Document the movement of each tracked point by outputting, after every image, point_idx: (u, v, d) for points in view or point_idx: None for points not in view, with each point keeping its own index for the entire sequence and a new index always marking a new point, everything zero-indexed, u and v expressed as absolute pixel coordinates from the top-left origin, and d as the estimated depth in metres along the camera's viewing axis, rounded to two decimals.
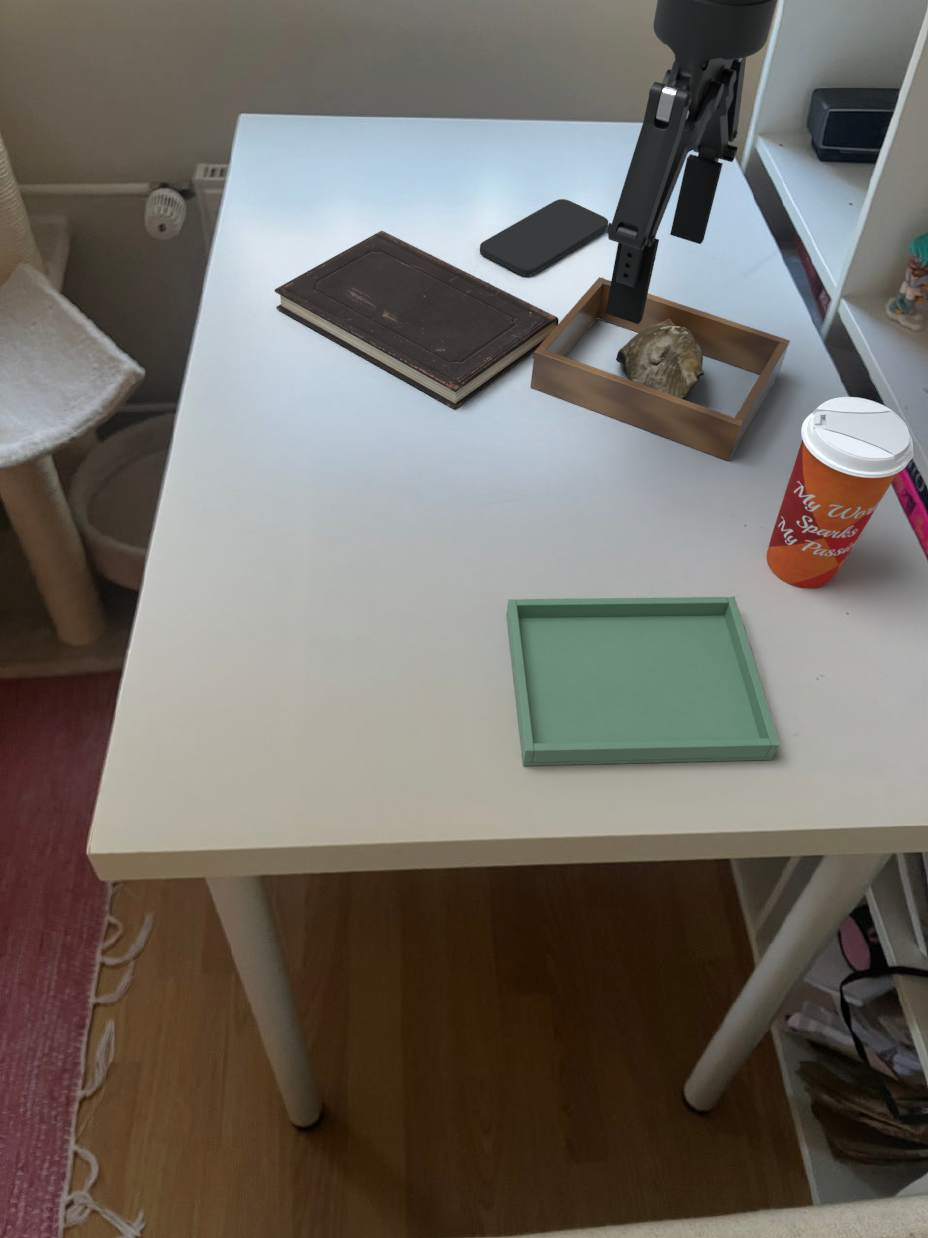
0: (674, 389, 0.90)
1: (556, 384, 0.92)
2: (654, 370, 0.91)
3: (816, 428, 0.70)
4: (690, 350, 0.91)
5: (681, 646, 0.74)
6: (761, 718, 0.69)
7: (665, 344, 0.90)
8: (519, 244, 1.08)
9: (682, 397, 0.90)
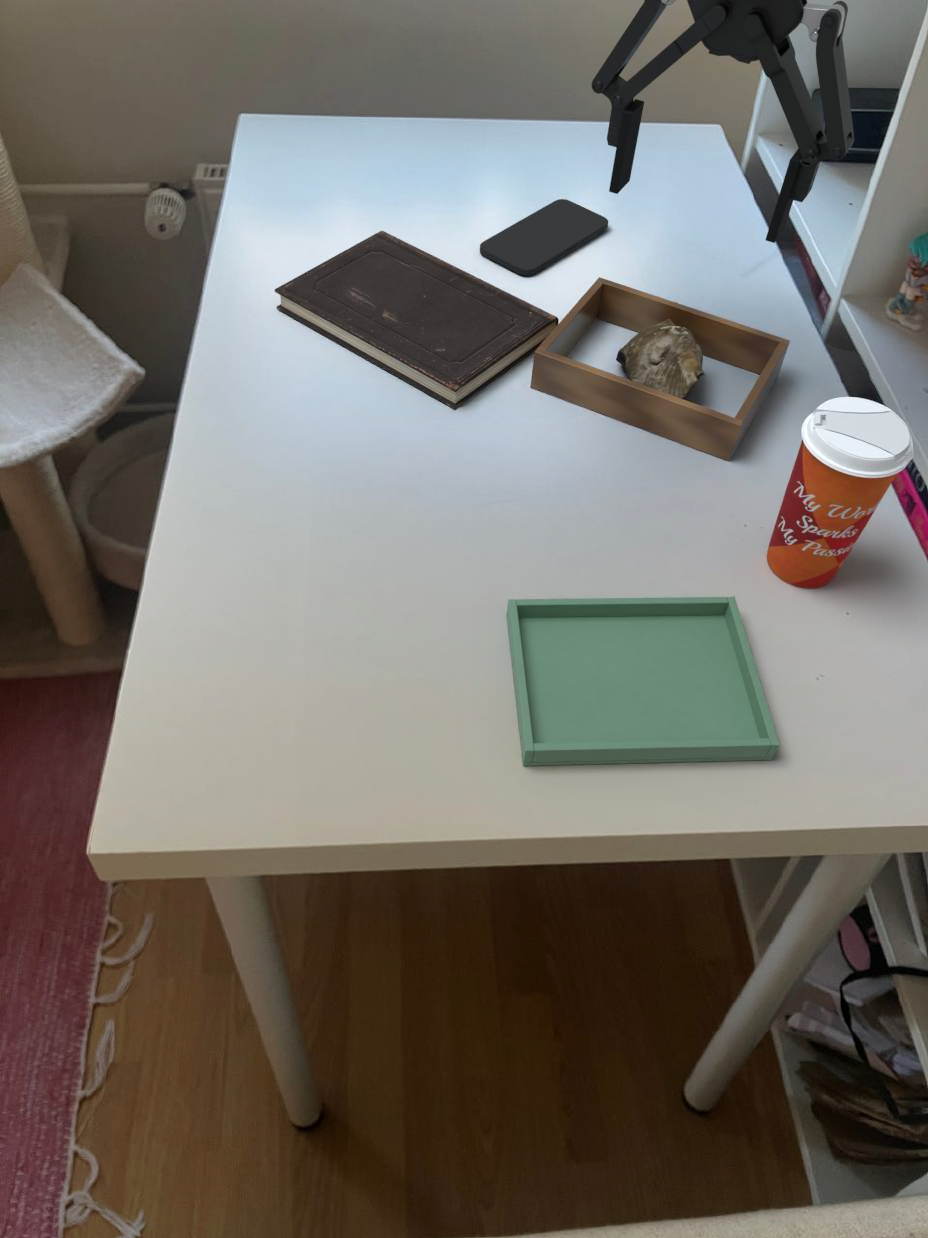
0: (674, 389, 0.90)
1: (556, 384, 0.92)
2: (654, 370, 0.91)
3: (816, 428, 0.70)
4: (690, 350, 0.91)
5: (681, 646, 0.74)
6: (761, 718, 0.69)
7: (665, 344, 0.90)
8: (519, 244, 1.08)
9: (682, 397, 0.90)
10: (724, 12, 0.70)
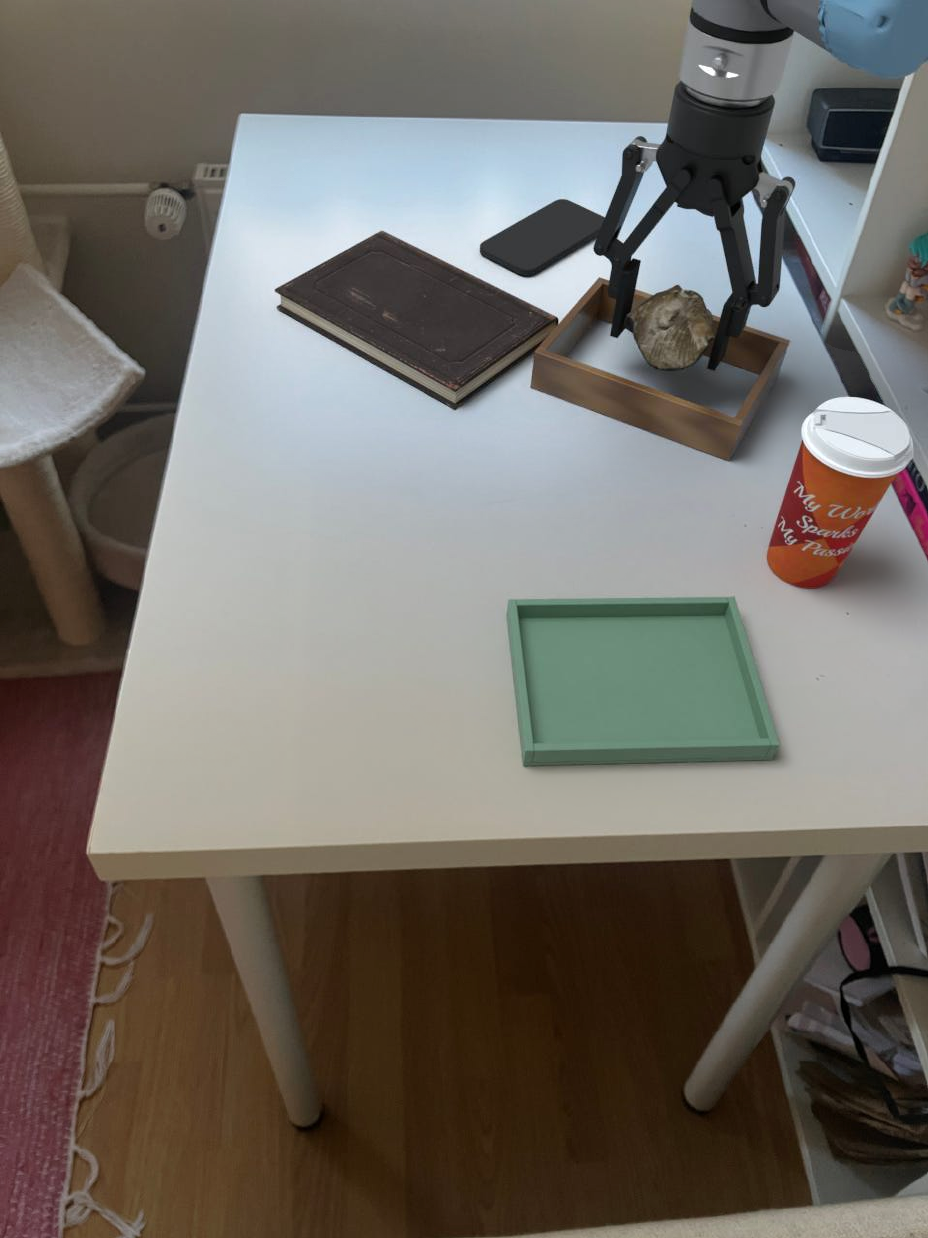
0: (683, 354, 0.87)
1: (556, 384, 0.92)
2: (663, 335, 0.88)
3: (816, 428, 0.70)
4: (700, 315, 0.88)
5: (681, 646, 0.74)
6: (761, 718, 0.69)
7: (675, 308, 0.87)
8: (519, 244, 1.08)
9: (692, 362, 0.87)
10: (688, 174, 0.79)
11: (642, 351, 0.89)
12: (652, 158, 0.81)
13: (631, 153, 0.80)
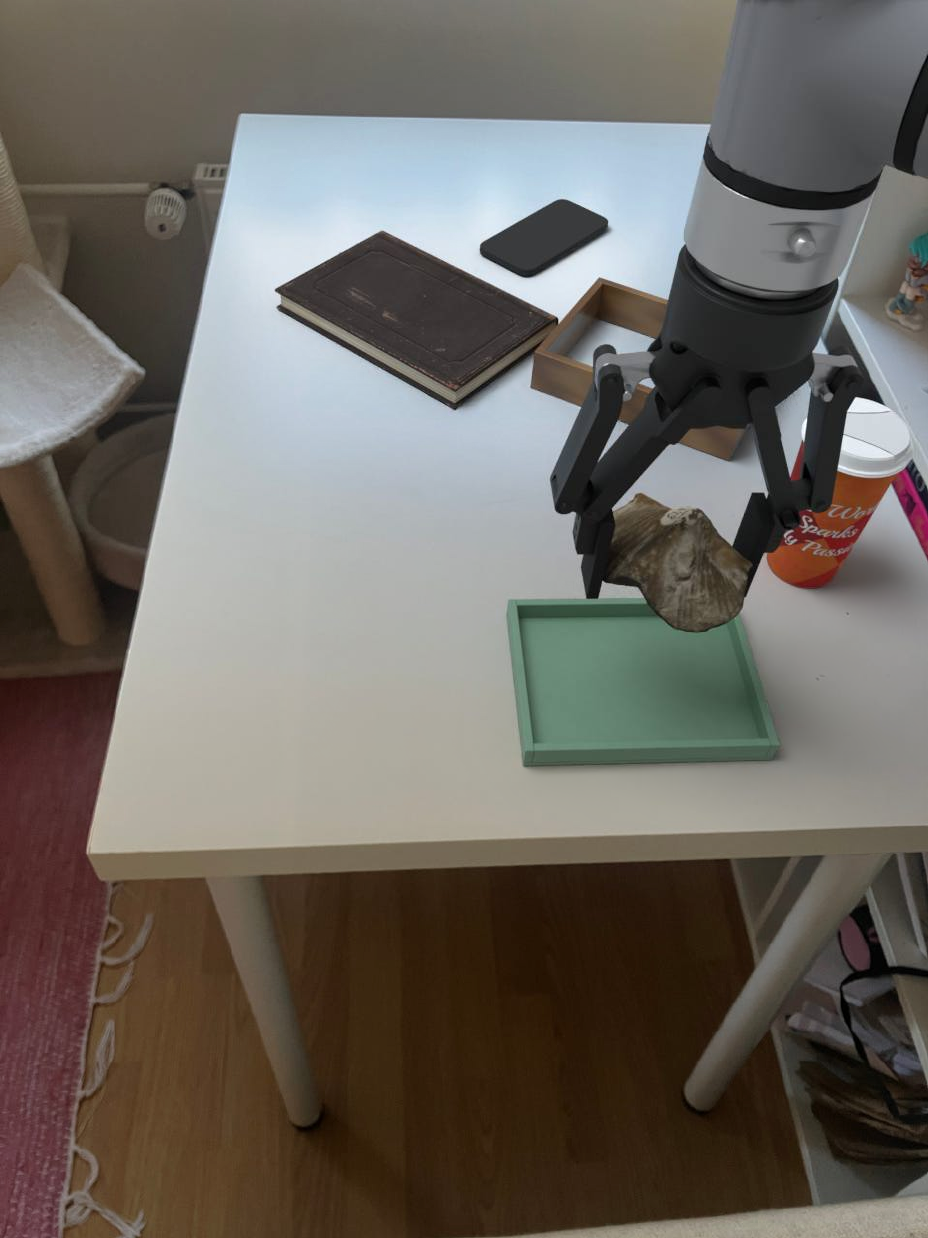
0: (725, 604, 0.60)
1: (556, 384, 0.92)
2: (687, 588, 0.60)
3: None
4: (714, 537, 0.61)
5: (681, 646, 0.74)
6: (761, 718, 0.69)
7: (690, 546, 0.59)
8: (519, 244, 1.08)
9: (739, 609, 0.60)
10: (719, 390, 0.50)
11: (665, 617, 0.60)
12: (642, 376, 0.51)
13: (616, 380, 0.50)
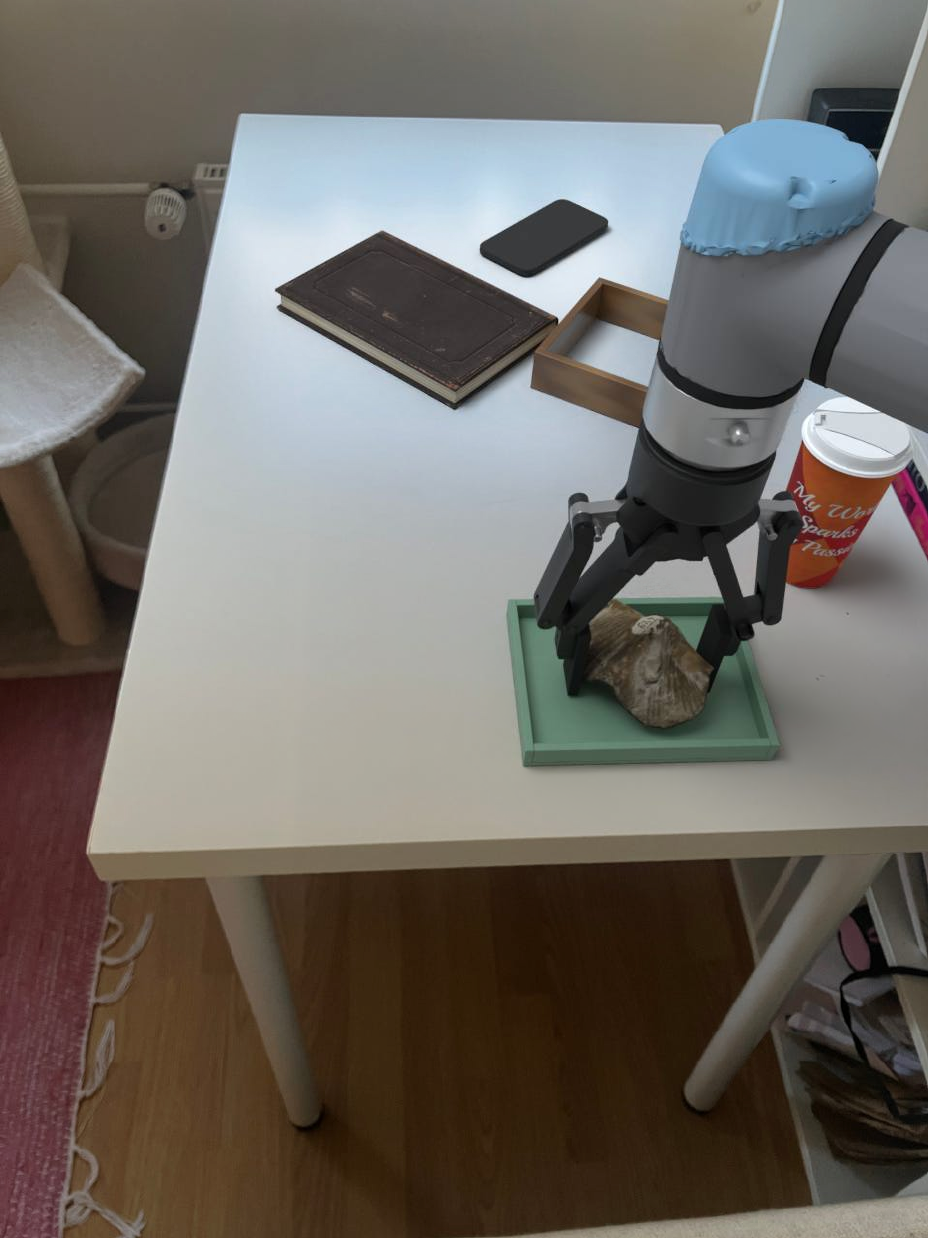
0: (689, 703, 0.68)
1: (556, 384, 0.92)
2: (655, 690, 0.67)
3: (816, 428, 0.70)
4: (679, 643, 0.69)
5: None
6: (761, 718, 0.69)
7: (657, 653, 0.67)
8: (519, 244, 1.08)
9: (702, 708, 0.68)
10: (677, 535, 0.58)
11: (635, 716, 0.68)
12: (610, 521, 0.59)
13: (587, 527, 0.58)
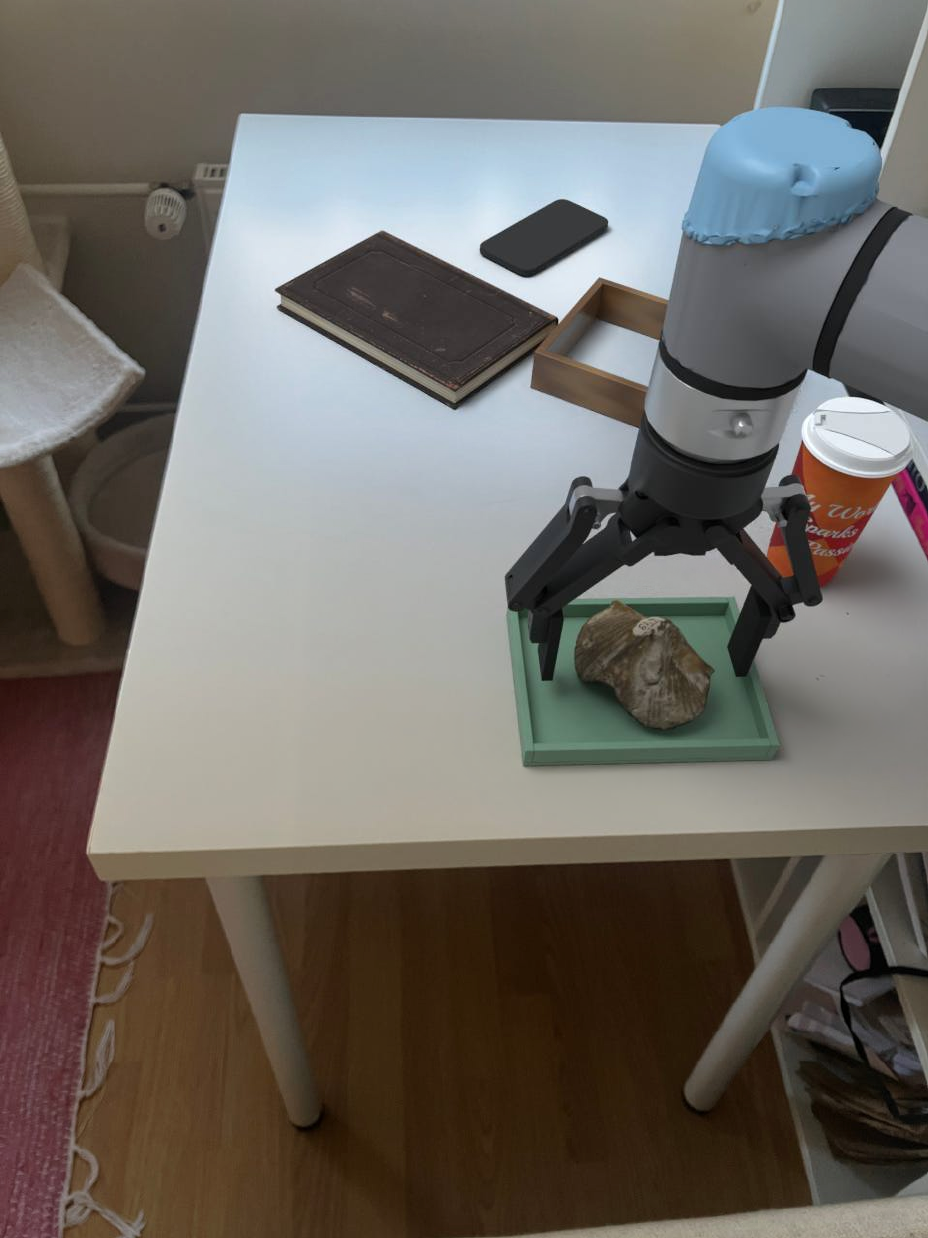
0: (689, 705, 0.68)
1: (556, 384, 0.92)
2: (656, 691, 0.67)
3: (816, 428, 0.70)
4: (680, 644, 0.69)
5: None
6: (761, 718, 0.69)
7: (658, 655, 0.67)
8: (519, 244, 1.08)
9: (702, 710, 0.68)
10: (680, 530, 0.57)
11: (636, 717, 0.68)
12: (611, 510, 0.58)
13: (591, 511, 0.57)
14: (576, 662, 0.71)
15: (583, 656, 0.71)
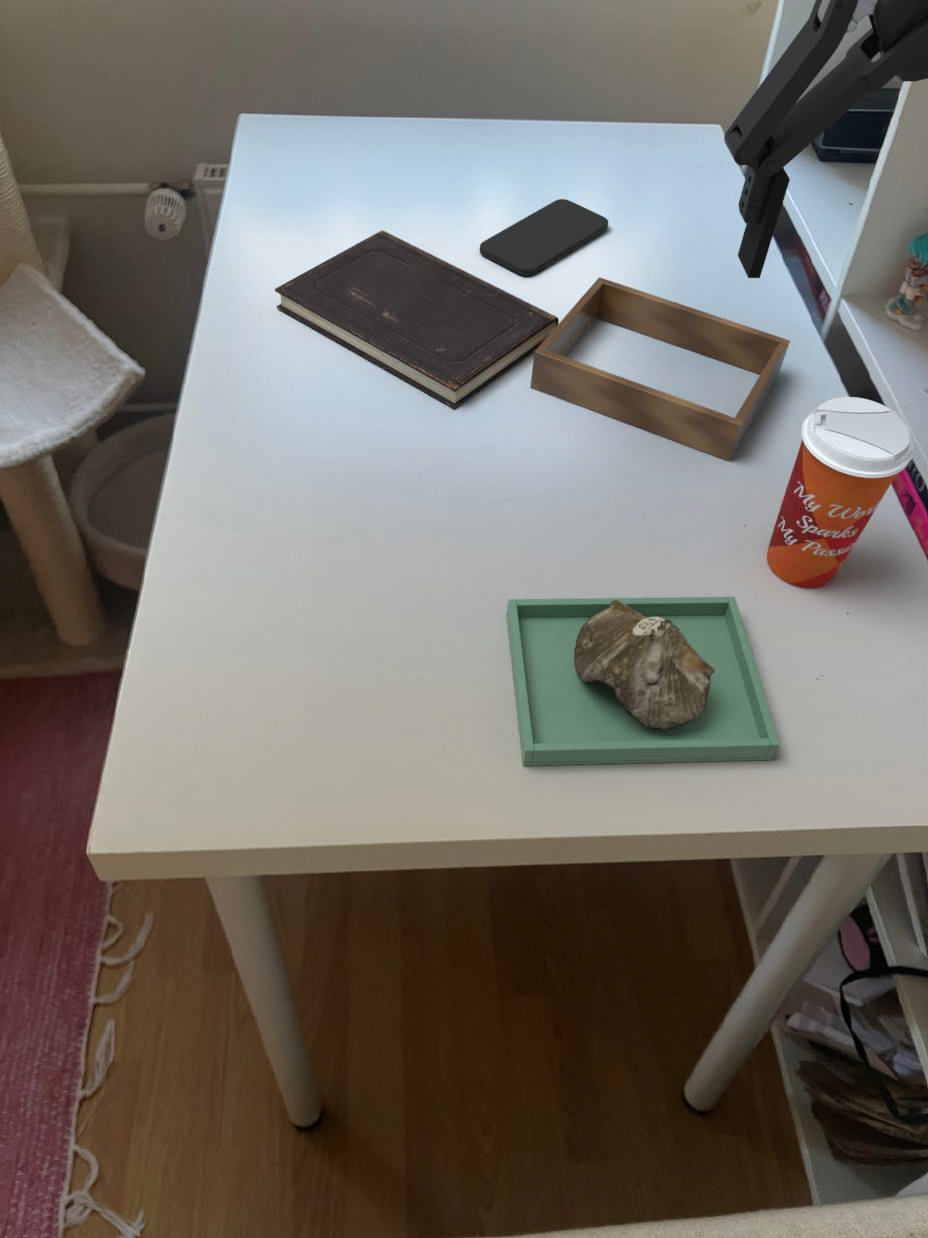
0: (689, 705, 0.68)
1: (556, 384, 0.92)
2: (656, 691, 0.67)
3: (816, 428, 0.70)
4: (680, 644, 0.69)
5: None
6: (761, 718, 0.69)
7: (658, 655, 0.67)
8: (519, 244, 1.08)
9: (702, 710, 0.68)
10: None
11: (636, 717, 0.68)
12: (867, 11, 0.53)
13: (852, 0, 0.52)
14: (576, 662, 0.71)
15: (583, 656, 0.71)
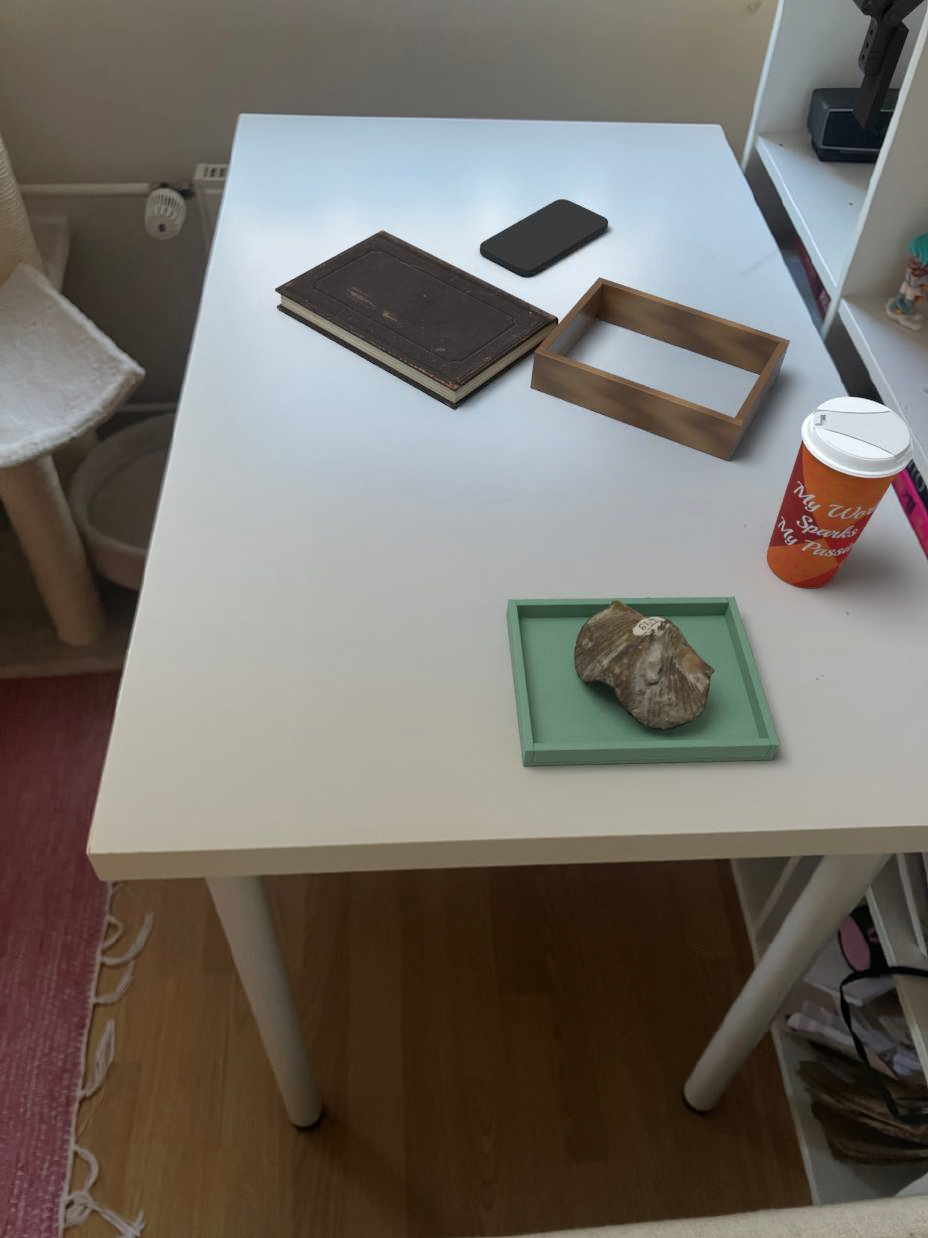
0: (689, 705, 0.68)
1: (556, 384, 0.92)
2: (656, 691, 0.67)
3: (816, 428, 0.70)
4: (680, 644, 0.69)
5: None
6: (761, 718, 0.69)
7: (658, 655, 0.67)
8: (519, 244, 1.08)
9: (702, 710, 0.68)
10: None
11: (636, 717, 0.68)
12: None
13: None
14: (576, 662, 0.71)
15: (583, 656, 0.71)
